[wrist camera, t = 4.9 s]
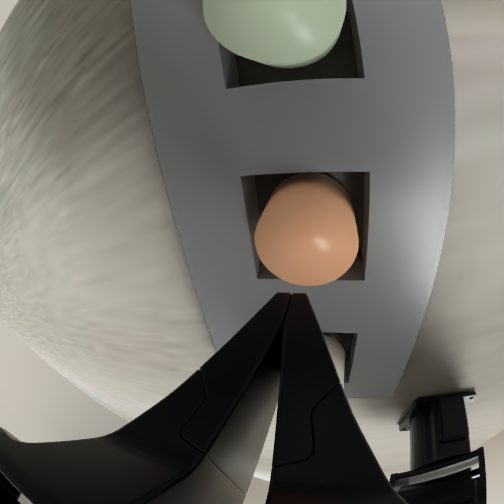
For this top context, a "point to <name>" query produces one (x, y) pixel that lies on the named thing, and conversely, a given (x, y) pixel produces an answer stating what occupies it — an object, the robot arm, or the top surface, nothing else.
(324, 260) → the button terracotta
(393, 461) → the top surface
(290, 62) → the button sage
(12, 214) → the top surface
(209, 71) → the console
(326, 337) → the button white
